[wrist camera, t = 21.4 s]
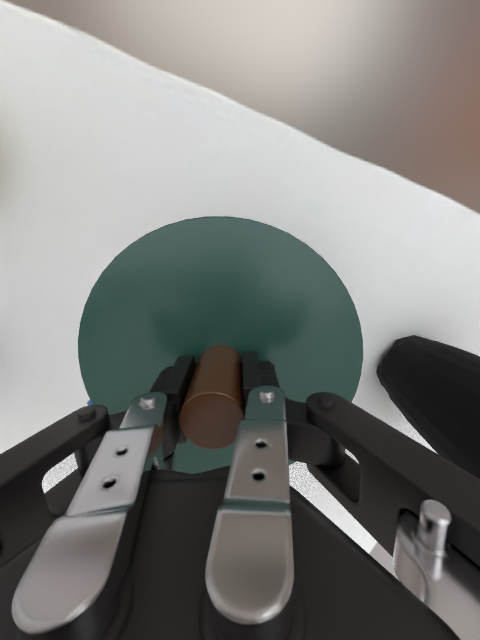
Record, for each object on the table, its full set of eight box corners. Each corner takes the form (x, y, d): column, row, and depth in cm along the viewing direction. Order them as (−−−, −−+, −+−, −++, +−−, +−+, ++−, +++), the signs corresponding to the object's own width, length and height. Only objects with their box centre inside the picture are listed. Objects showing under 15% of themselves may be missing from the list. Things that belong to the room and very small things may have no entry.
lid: (115, 472, 18) (59, 576, 12) (60, 228, 14) (-57, 222, 8) (349, 459, 18) (399, 560, 12) (361, 207, 14) (443, 187, 8)
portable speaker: (441, 322, 34) (700, 429, 15) (444, 391, 36) (667, 558, 17) (368, 337, 34) (529, 461, 15) (375, 405, 37) (522, 582, 18)
